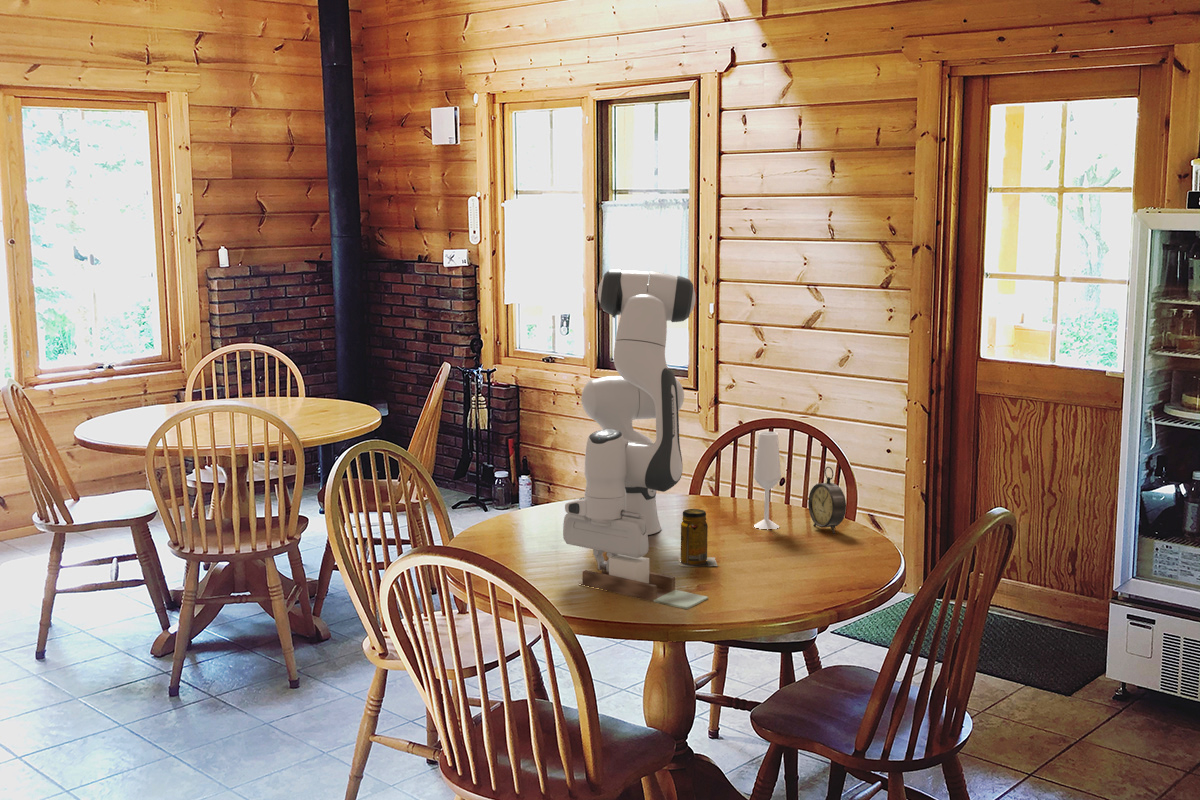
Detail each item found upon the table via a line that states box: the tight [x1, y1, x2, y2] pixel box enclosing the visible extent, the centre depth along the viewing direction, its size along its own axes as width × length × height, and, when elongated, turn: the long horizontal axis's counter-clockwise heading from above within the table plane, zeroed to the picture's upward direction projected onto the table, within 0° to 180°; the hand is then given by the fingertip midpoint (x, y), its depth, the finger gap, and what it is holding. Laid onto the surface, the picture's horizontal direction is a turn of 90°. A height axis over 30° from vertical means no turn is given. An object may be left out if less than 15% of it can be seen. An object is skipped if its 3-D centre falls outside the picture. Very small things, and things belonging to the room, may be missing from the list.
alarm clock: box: [807, 466, 847, 535], centre depth 293 cm, size 11×5×16 cm, turn 23°
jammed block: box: [608, 554, 650, 583], centre depth 247 cm, size 7×5×6 cm
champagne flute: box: [753, 431, 782, 531], centre depth 296 cm, size 7×7×24 cm
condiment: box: [677, 508, 719, 568], centre depth 266 cm, size 7×8×12 cm
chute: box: [578, 569, 709, 610], centre depth 246 cm, size 27×8×3 cm, turn 54°
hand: (605, 570), depth 251 cm, fingers closed
